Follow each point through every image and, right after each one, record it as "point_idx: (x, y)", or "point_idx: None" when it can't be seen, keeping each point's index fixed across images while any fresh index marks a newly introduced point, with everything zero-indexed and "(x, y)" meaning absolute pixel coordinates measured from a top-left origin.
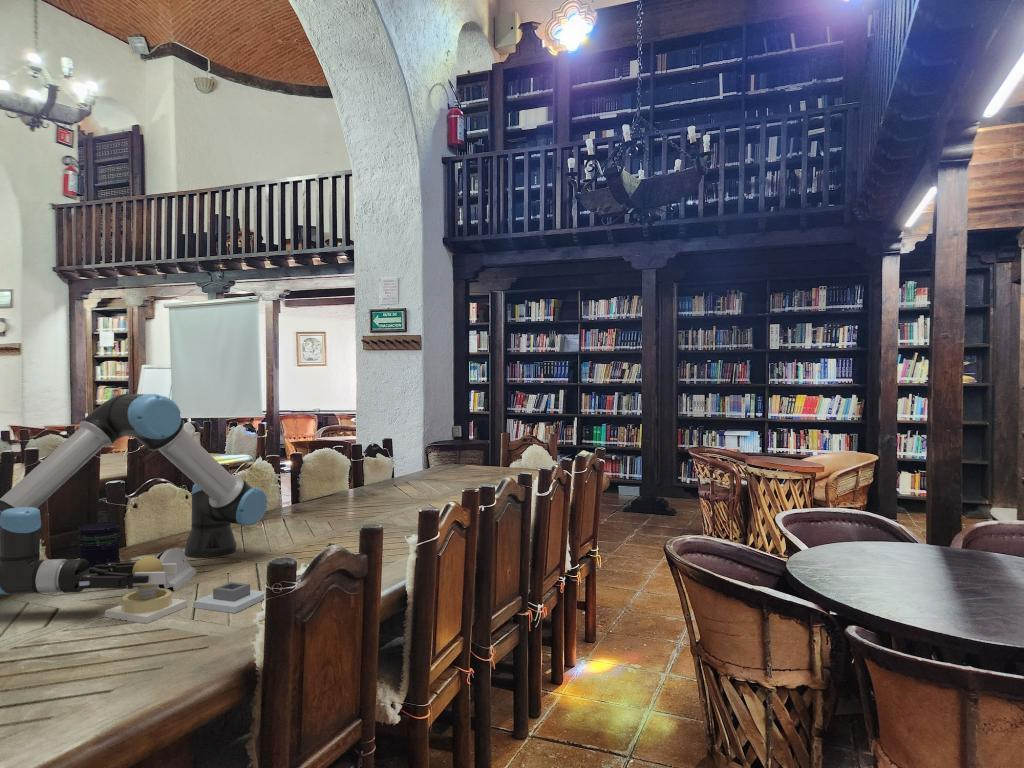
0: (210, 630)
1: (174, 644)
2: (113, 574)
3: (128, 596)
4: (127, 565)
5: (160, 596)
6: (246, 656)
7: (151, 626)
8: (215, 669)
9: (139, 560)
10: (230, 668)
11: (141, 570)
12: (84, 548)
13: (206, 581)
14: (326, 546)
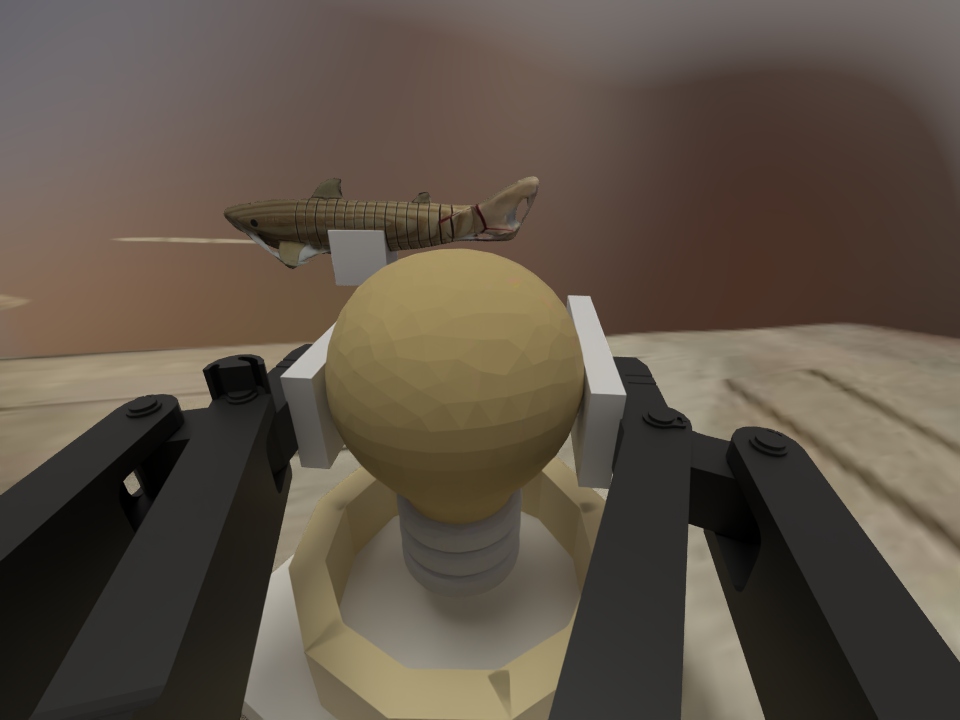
0: (688, 379)
1: (842, 427)
2: (685, 593)
3: (456, 671)
4: (145, 546)
5: (369, 520)
6: (820, 325)
7: (698, 529)
8: (924, 349)
9: (490, 297)
10: (898, 335)
11: (581, 353)
12: None
13: (37, 457)
14: (256, 208)
